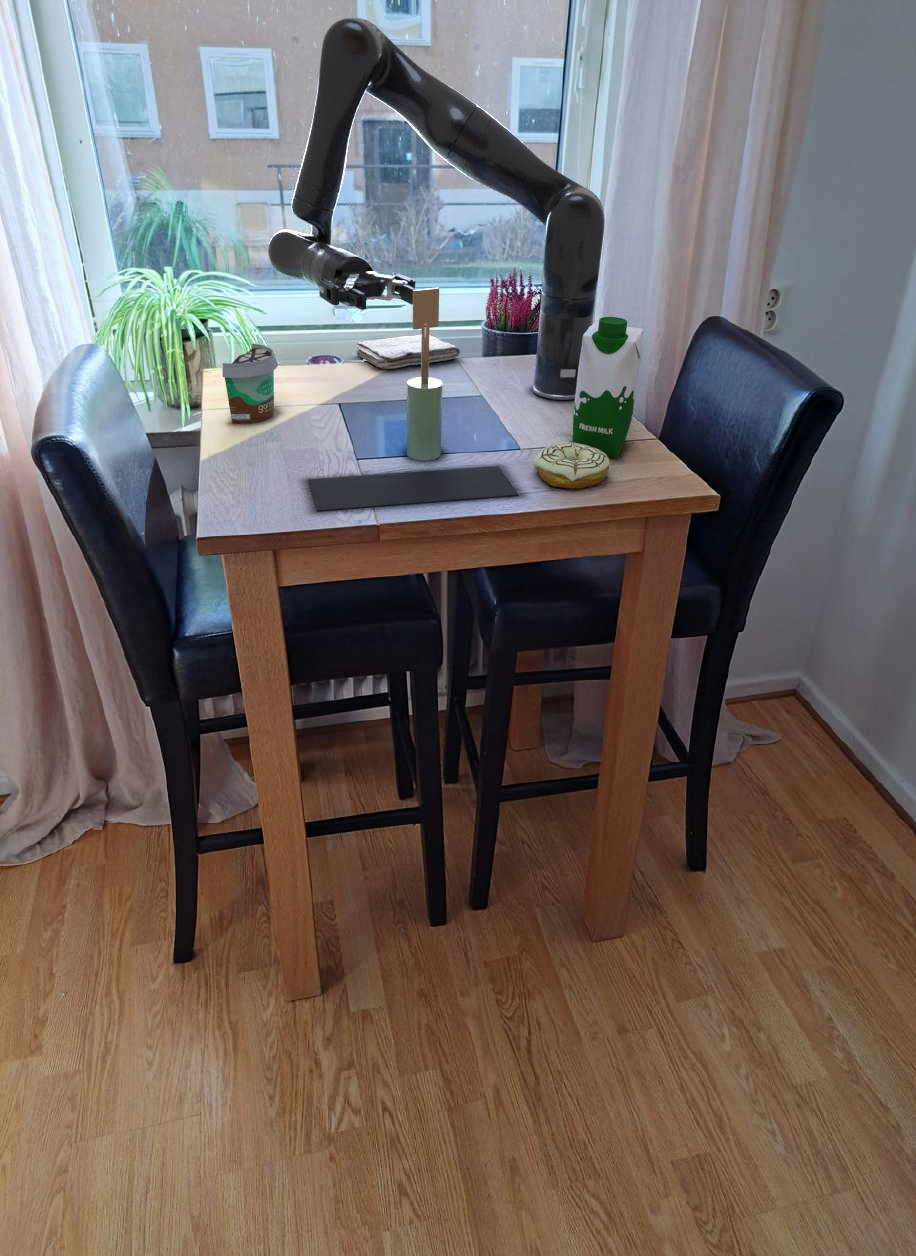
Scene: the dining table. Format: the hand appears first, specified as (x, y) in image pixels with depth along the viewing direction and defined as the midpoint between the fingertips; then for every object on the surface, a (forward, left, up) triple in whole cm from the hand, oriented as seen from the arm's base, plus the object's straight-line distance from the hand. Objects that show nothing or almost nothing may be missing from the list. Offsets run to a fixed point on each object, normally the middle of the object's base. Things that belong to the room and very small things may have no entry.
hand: (390, 300), depth 131 cm
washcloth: (-21, -33, -20) cm, 44 cm away
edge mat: (+7, +21, -20) cm, 30 cm away
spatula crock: (0, +11, -20) cm, 23 cm away
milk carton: (-26, +21, -20) cm, 39 cm away
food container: (+16, -15, -20) cm, 30 cm away
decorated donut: (-15, +28, -20) cm, 38 cm away
